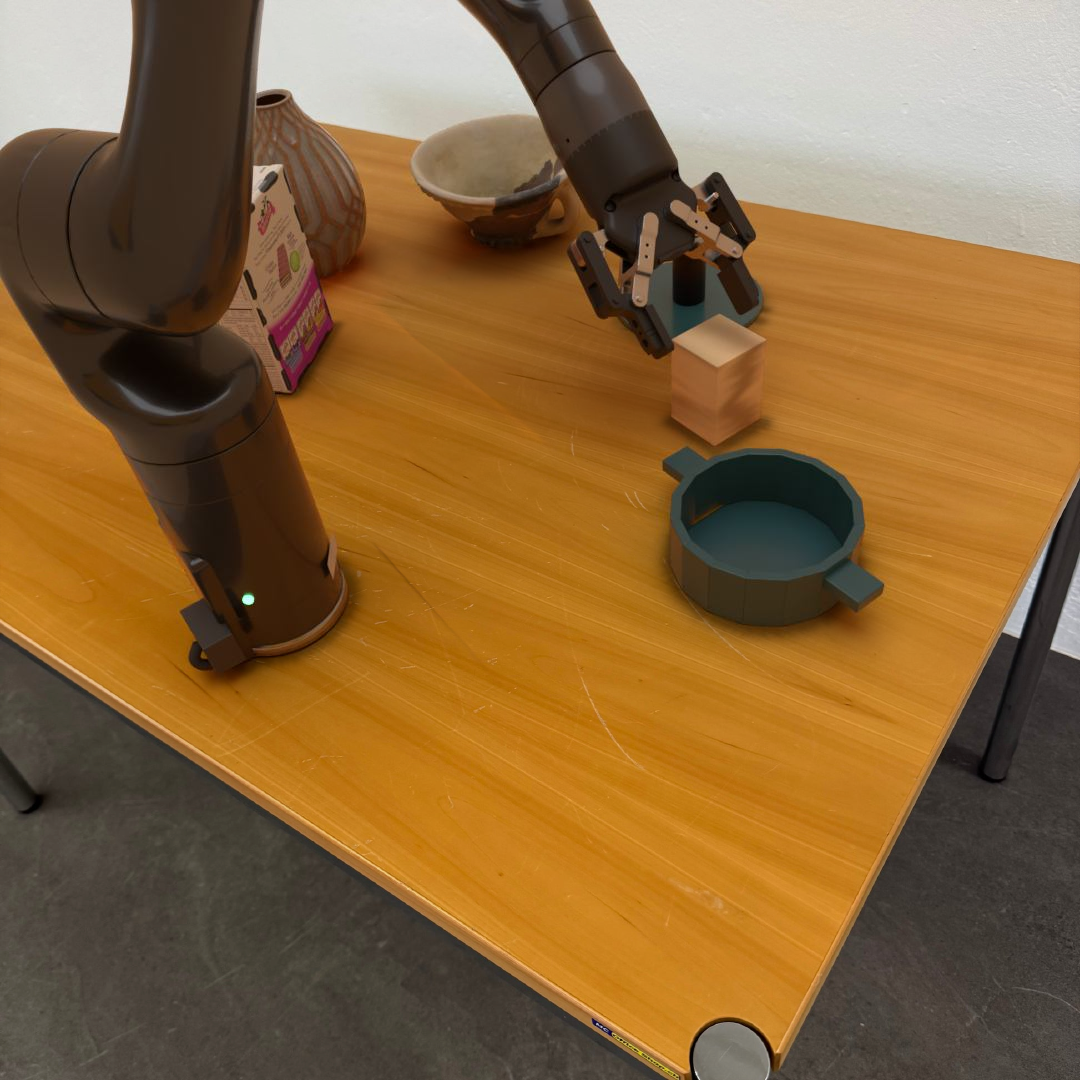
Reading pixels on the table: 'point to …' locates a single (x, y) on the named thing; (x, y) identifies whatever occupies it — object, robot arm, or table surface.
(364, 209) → the vase
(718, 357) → the block
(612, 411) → the table surface
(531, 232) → the bowl
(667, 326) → the lid
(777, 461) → the pot
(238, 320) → the candy bar box
